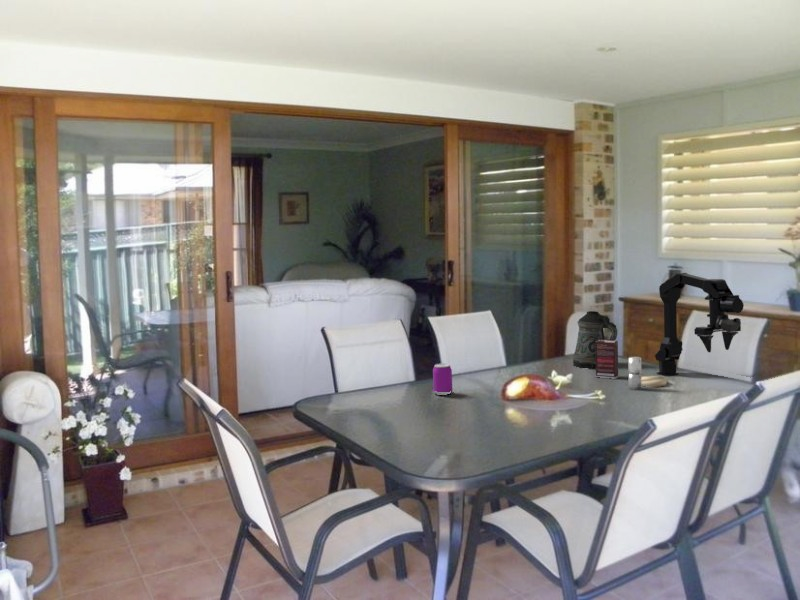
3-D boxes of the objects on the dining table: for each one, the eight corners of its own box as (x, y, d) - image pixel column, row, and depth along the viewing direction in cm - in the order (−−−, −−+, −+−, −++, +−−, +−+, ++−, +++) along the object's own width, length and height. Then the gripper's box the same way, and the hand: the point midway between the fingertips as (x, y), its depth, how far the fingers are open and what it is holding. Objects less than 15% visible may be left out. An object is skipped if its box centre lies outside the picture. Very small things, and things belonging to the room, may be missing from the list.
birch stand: (629, 383, 302) (629, 378, 301) (650, 378, 307) (650, 374, 307) (651, 388, 291) (651, 383, 291) (673, 384, 296) (673, 379, 296)
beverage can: (451, 396, 292) (450, 367, 291) (432, 396, 294) (431, 367, 292) (453, 391, 300) (452, 363, 298) (435, 391, 301) (434, 363, 300)
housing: (625, 388, 293) (625, 357, 292) (634, 386, 296) (634, 356, 294) (634, 390, 289) (634, 359, 287) (644, 389, 291) (644, 358, 290)
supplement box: (618, 377, 313) (618, 340, 311) (615, 379, 309) (615, 342, 307) (598, 375, 317) (598, 339, 315) (595, 377, 313) (594, 341, 311)
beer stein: (570, 362, 346) (569, 309, 343) (612, 361, 344) (612, 308, 341) (575, 369, 330) (574, 314, 327) (619, 368, 328) (618, 313, 325)
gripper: (715, 315, 275) (716, 356, 276) (751, 310, 282) (752, 350, 283) (692, 313, 285) (694, 352, 286) (728, 309, 292) (729, 347, 293)
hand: (718, 351), depth 287 cm, fingers open, 9 cm apart
